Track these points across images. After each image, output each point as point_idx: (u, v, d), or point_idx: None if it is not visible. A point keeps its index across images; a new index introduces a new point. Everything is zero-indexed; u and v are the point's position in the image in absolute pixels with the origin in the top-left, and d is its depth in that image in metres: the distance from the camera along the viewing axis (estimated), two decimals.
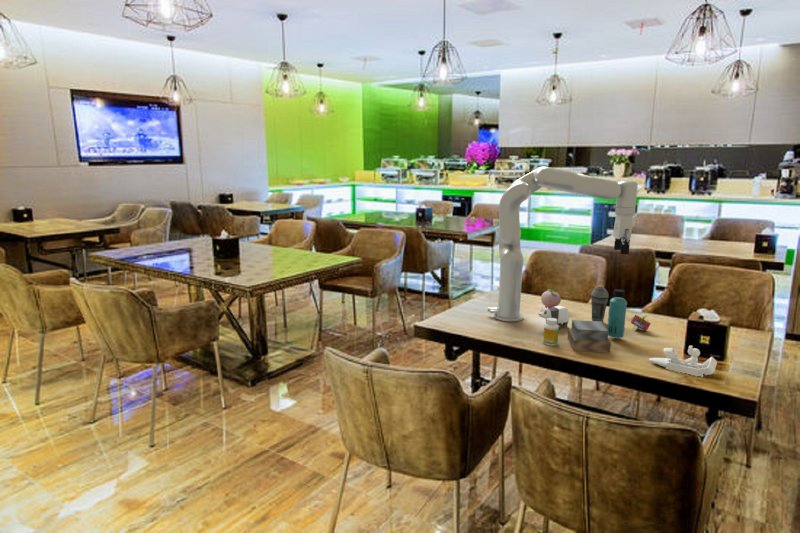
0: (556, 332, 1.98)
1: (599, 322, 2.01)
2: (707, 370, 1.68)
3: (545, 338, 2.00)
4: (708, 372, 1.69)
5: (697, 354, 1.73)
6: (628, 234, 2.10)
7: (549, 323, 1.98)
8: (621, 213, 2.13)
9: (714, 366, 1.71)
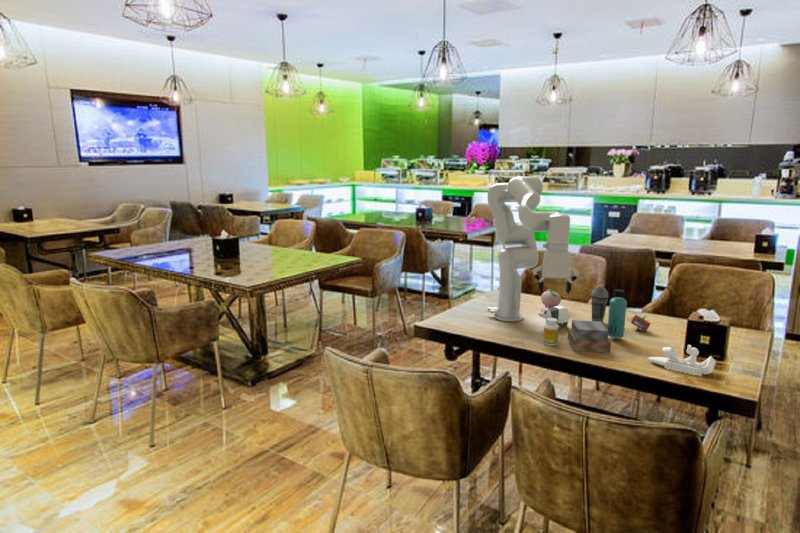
0: (556, 332, 1.98)
1: (599, 322, 2.01)
2: (705, 369, 1.69)
3: (545, 338, 2.00)
4: (706, 371, 1.69)
5: (696, 353, 1.74)
6: (577, 270, 1.94)
7: (549, 323, 1.98)
8: (566, 250, 1.91)
9: (713, 365, 1.72)
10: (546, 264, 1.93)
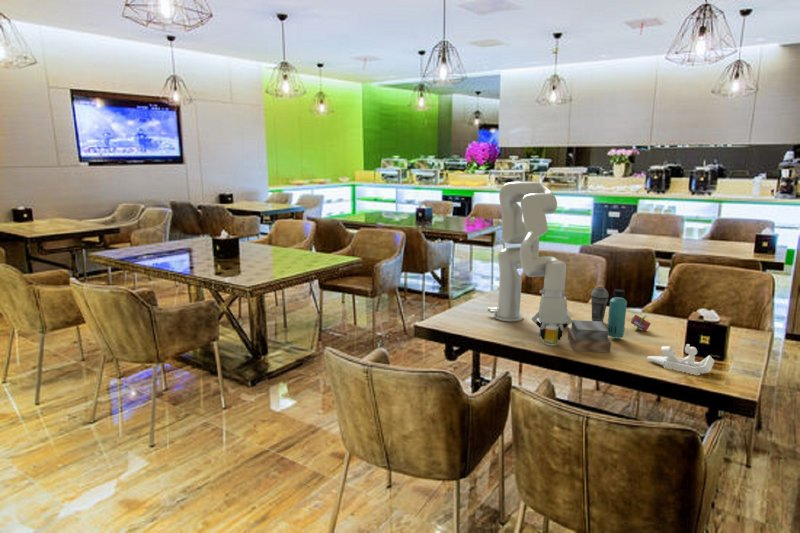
0: (556, 332, 1.98)
1: (599, 322, 2.01)
2: (703, 368, 1.70)
3: (545, 338, 2.00)
4: (705, 370, 1.70)
5: (694, 353, 1.74)
6: None
7: None
8: (562, 296, 1.95)
9: (711, 365, 1.72)
10: (543, 310, 1.96)
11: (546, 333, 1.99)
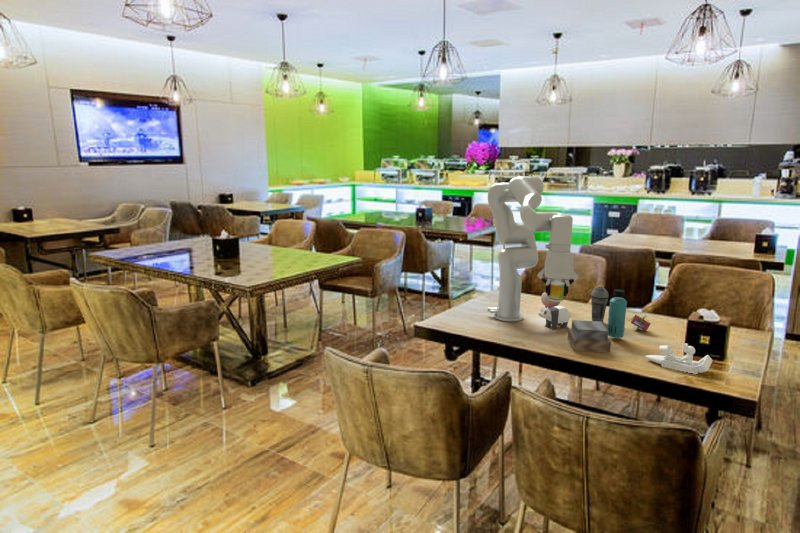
0: (562, 288, 1.94)
1: (599, 322, 2.01)
2: (701, 367, 1.70)
3: (551, 294, 1.96)
4: (702, 369, 1.70)
5: (692, 352, 1.75)
6: (577, 275, 1.94)
7: (555, 279, 1.94)
8: (569, 251, 1.91)
9: (709, 364, 1.73)
10: (548, 265, 1.93)
11: (552, 289, 1.95)
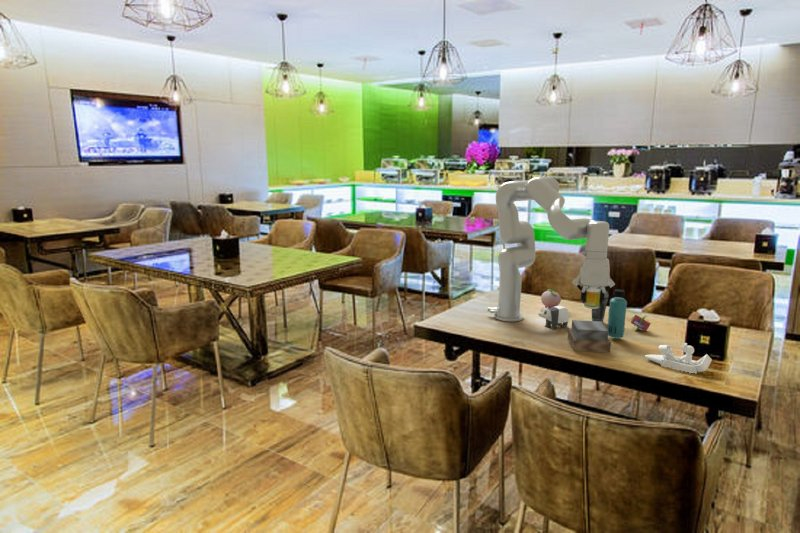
0: (598, 295, 1.93)
1: (599, 322, 2.01)
2: (700, 367, 1.71)
3: (586, 301, 1.94)
4: (701, 369, 1.71)
5: (691, 351, 1.76)
6: None
7: (591, 286, 1.93)
8: (605, 257, 1.90)
9: (708, 363, 1.73)
10: (585, 271, 1.91)
11: (588, 296, 1.94)
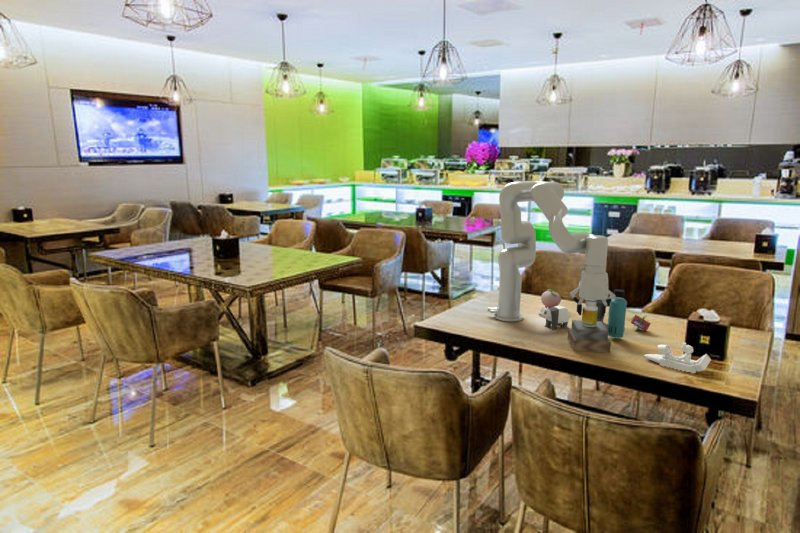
0: (595, 313, 1.95)
1: (599, 322, 2.01)
2: (699, 366, 1.71)
3: (584, 320, 1.96)
4: (700, 368, 1.71)
5: (690, 351, 1.76)
6: None
7: (588, 304, 1.95)
8: (604, 272, 1.91)
9: (707, 363, 1.74)
10: (583, 285, 1.92)
11: (585, 314, 1.95)
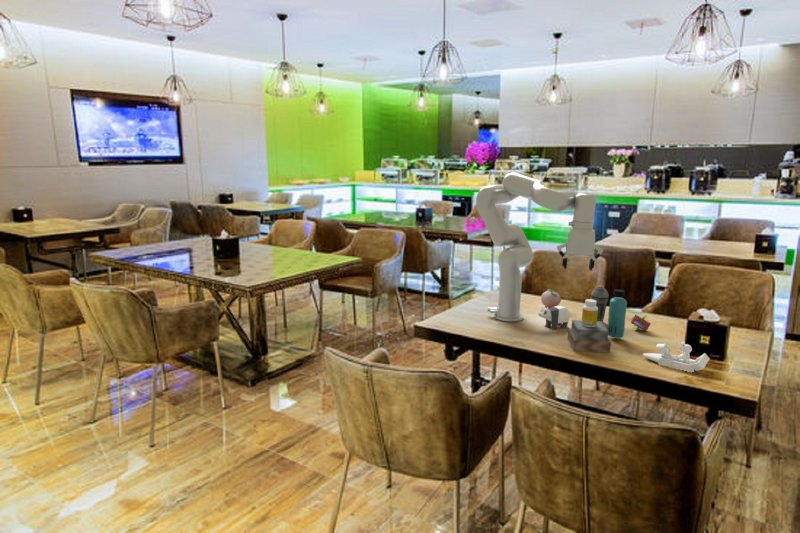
0: (595, 313, 1.95)
1: (599, 322, 2.01)
2: (697, 366, 1.72)
3: (584, 320, 1.96)
4: (698, 368, 1.72)
5: (689, 350, 1.77)
6: (601, 248, 2.02)
7: (588, 304, 1.95)
8: (591, 228, 1.98)
9: (705, 362, 1.74)
10: (571, 241, 2.00)
11: (585, 315, 1.95)
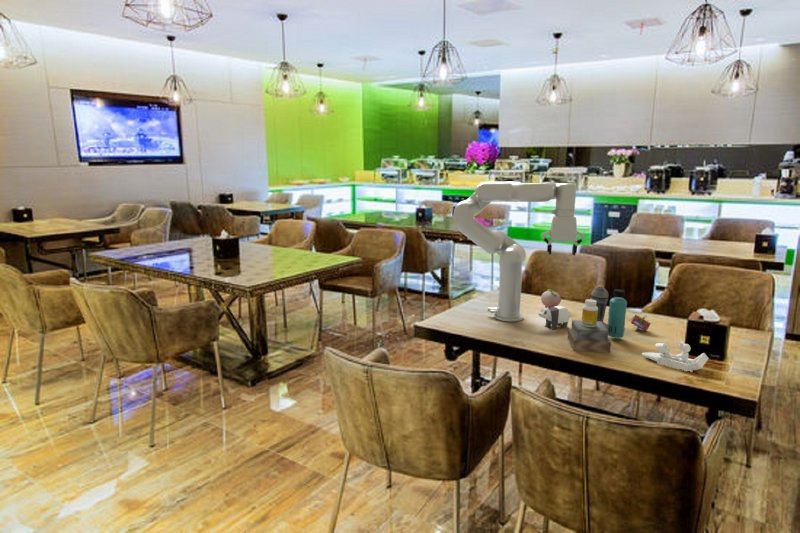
0: (595, 313, 1.95)
1: (599, 322, 2.01)
2: (695, 365, 1.72)
3: (584, 320, 1.96)
4: (696, 367, 1.72)
5: (687, 349, 1.77)
6: None
7: (588, 304, 1.95)
8: (573, 215, 2.12)
9: (704, 362, 1.75)
10: (554, 228, 2.14)
11: (585, 314, 1.95)
